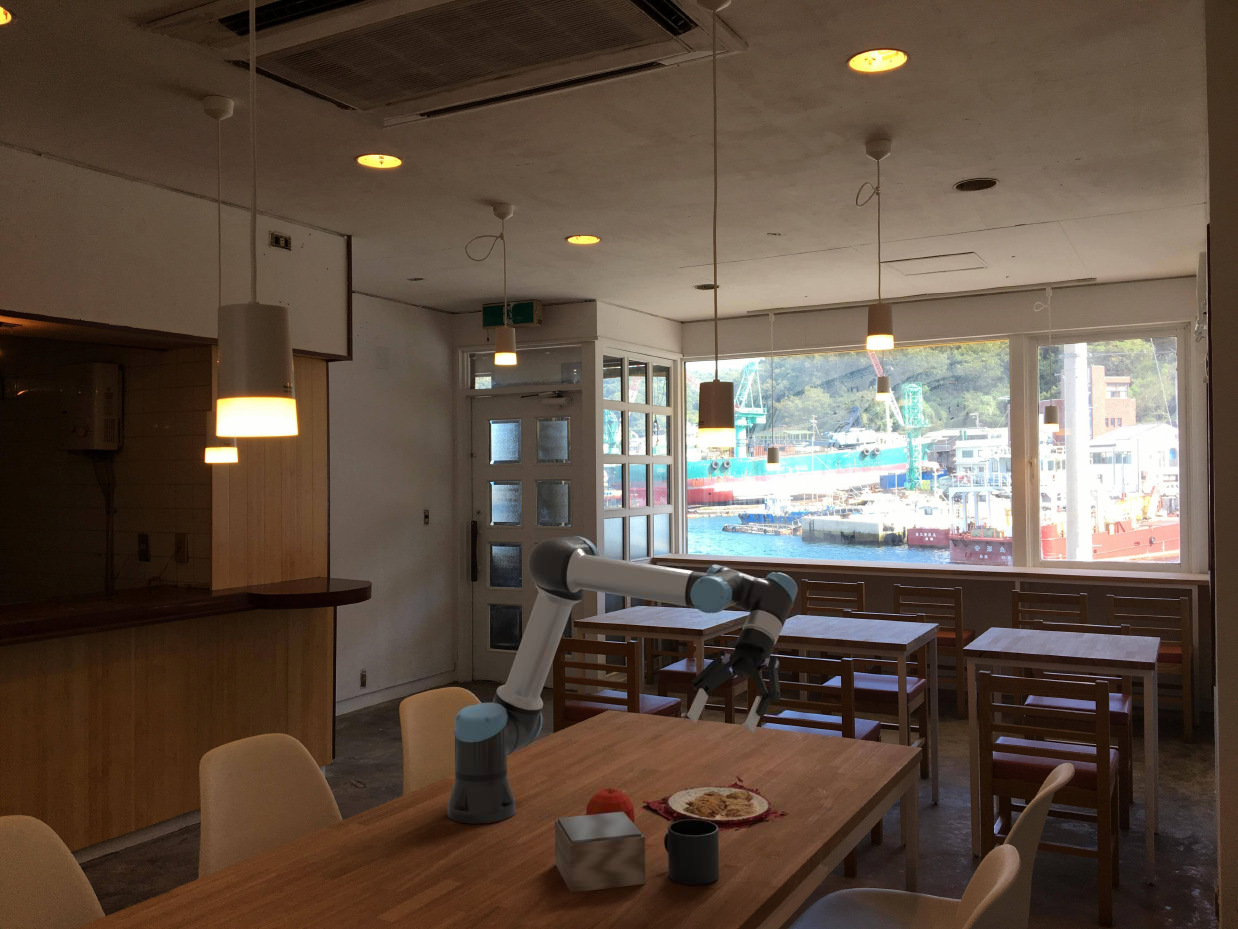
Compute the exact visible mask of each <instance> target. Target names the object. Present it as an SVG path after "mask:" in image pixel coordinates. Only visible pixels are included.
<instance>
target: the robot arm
mask: <svg viewBox="0 0 1238 929" xmlns="http://www.w3.org/2000/svg"><path fill="white" fill-rule="evenodd" d="M527 558H528V559H527V570H528V573H529V576H530V578H531V580H533V582H534V584H535V587H536V590H538V594H537V597H536V599H535V602H534V605H533V606H532V607H533V608H532V610H531V614H530V616H529V619H528V621H527V624H526V627H525V629H524V632H523V635H522V638H521V640H520V644H519V647H518V650H517V652H516V655H515V657H514V660H513V664H512V666H511V669H510V672H509V675H508V678H507V681H506V682H505V684H502V685H500V686H498V687H497V689H496V692H495V695H494V698H493V699H492V702H479V703H476V704H471V705H468V706H465V707H463V708H462V709H460V710H459V711H458V712H457V713H456V715H455V719H454V728H453V733H454V768H455V769H454V773H455V774H454V776H455V777H454V783H453V786H452V790H451V792H450V796H449V799H448V802H447V817H448V818H449V819H450V820H451V821H453V822H458V823H463V824H474V825H476V824H489V823H495V822H500V821H504V820H507V819H509V818H510V817H511V818H512V816H514V815H515V814H516V799H515V797H514V794H513V790H512V787H511V784H510V781H509V778H508V756H510V755H512V754H514V753H515V752H517V751H519V750H521V749H525V748H527V746H530V745H531V743H533V741H534V740H535V739H537V737H538V736H539V735H540V732H541V731H542V729H543V728H542V727H543V720H544V719H543V714H542V709H543V706H544V702H543V700H542V698H541V693H542V691H543V688H544V685H545V683H546V680H547V676H548V675H549V672H550V669H551V666H552V663H553V661H554V659H555V655H556V653H557V649H558V647H559V644H560V642H561V639H562V637H563V633H564V630H565V628H566V625H567V623H568V620H569V617H570V614H571V611H572V610H573V606H574V605H575V604H579V603H581V601H582V600H583V599H584V598H583V597H584V595H585V592H586V591H590V592H591V591H593V592H598V593H602V594H603V593H604V594H611V595H617V596H622V597H629V598H633V599H641V600H646V601H652V602H659V603H664V604H665V603H666V604H672V605H676V606H677V605H678V606H683V607H684V606H685V607H688V608H693V609H697V610H698V611H699V612H702V613H705V614H717V613H720V612H722V611H723V610H726V609H727V608H729V607H734V608H735V607H736V608H738V609H742V610H745V611H746V612H749V613H748V616H747V618H746V620H745V622H744V624H743V626H742V630H740V633H739V635H738V637H737V640H736V642H735V645H734V651H732V652H731V653H730V654H729V653H727V652H725V650H723V649H720V650H719V652H718V653H717V655H716V656H715V658H714V659H713V660H712V661H710V663H708V664H707V666H706V667H705V668H704V669H702V671H700V672H699V673H698V674H697V675H696V676H695V677H694V678H693V679H692V680H691V681H690V685H691V686H692V688H693V689H694V690H695V692H694V694H693V696H692V699H691V701H690V702H691V706H690V708H689V711H688V712H687V713H686V714H687V717H688V719H689V720H690V721H691V723H693V724H697V722H698V720H699V718H700V716H701V713H702V711H703V709H704V707H705V705H706V703H707V700H708V699H709V695H708V693H710V692H712V691H713V690H714V689H716V688H717V687H719V686H720V685H721V684H723V683H724V682H726V681H728V680H729V679H734V678H735V677H736V676H737V677H741V678H742V677H745V678H748V679H749V678H751V677H753V678H754V681H755V683H756V684H755V685H756V686H757V689H758V691H759V694H760V696H759V695H757V696H756V697H755V699H754V702H753V704H752V707H751V709H750V711H749V713H748V716H747V718H746V720H745V722H744V726H745V727H746V728H747V729H748V732H750V733H753V734H754V733H755V730H756V728H757V725H758V723H759V721H760V718H762V717H764V716H765V715H766V712H767V710H768V707H769V705H770V704H771V703H772V702H774V703H776V704H777V703H780V702H781V698H782V697H781V690H780V679H779V670H780V667H781V663H780V661H779V660H778V658H777V657H776V656H775V655H772V654H773V652H774V648H775V645H776V643H777V641H778V639H779V637H780V634H781V633H782V630H783V628H784V625H785V623H786V621H787V619H788V617H789V614H790V611H791V610H792V608H793V607H794V602H795V600H796V597H797V594H798V591H799V588H798V585H797V583H796V581H795V580H794V579H793V578H792V577H790V576H789V575H788V574H785V573H782V572H770V573H768V574H767V575H766V576H765V578H760V577H756V576H752V575H749V574H747V573H744V572H741V571H738V570H736V569H732V568H730V567H729V566H723V565H718V564H712V565H710V566H709V568H708V569H707V570H706V572H701V571H695V570H688V569H682V568H675V567H669V566H661V565H656V564H650V563H643V562H635V561H630V560H626V559H625V560H624V559H617V558H611V557H604V556H600V553H599V551H598V549H597V547H596V546H595V544H594V543H593V542H592V541H590V540H589V539H588V538H585V537H582V536H580V535H579V536H577V535H566V536H563V537H551V538H545V539H544V540H541V541H539V542H538V543H537V544H536V545H535V546H533V548H532V550H531V551H530V553H529V555H528V557H527ZM766 667H767V671H768V672H767V673H768V684H769V690H768V688H767V685H766V683H765V681H764V678H763V675H762V673H761V671H762V670H763V669H765V668H766ZM730 668H731V669H732V670H730Z"/></svg>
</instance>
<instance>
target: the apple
mask: <svg viewBox="0 0 1238 929" xmlns="http://www.w3.org/2000/svg"><path fill="white" fill-rule="evenodd" d="M615 812H624V813H625V814H626V815H627V816H628V818H629V819H630V820H631V821H632V822H633V823H635V821H636V815H635V808H634V803H633V802H632V800H631V799H630V798H629V796H628V795H627V794H625V793H624V792H623V791H622V790H620V789H616V788H610V787H609V788H603V789H600V790H599V791H597V792H596V793H594V794H593V795H592V796H591V797H590V799H589V800H588V802H587V804H586V812H585V813H586V814H585V815H595V814H605V813H615Z"/></svg>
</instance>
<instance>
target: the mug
mask: <svg viewBox="0 0 1238 929" xmlns="http://www.w3.org/2000/svg"><path fill="white" fill-rule="evenodd" d="M718 828H719V827H718V826H717V825H716V824H714V823H712V822H709V821H705V820H697V819H688V820H680V821H677V820H675V821H673V822H671V823H669V825H668V827H667V833H666V834H665V836H664V838H663V845H664V849H665V851H666V852H667V858H668V860H667V861H668V862H667V863H668V866H667V867H668V871H667V872H668V873H667V874H668V876H669V879H670V880H671V881H673V882H675V883H677V884H680V885H685V886H704V885H708V884H712V883H714V882H715V881H717V880H718V879H719V876H720V850H719V848H720V846H719V844H720V843H719V841H720V840H719V831H718Z"/></svg>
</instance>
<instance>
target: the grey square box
mask: <svg viewBox="0 0 1238 929" xmlns="http://www.w3.org/2000/svg"><path fill="white" fill-rule="evenodd" d="M634 823H635V822H634ZM634 823H633V822H632V821H631V820H630V819H629V818H628V816H627V815H626V814H625V813H624V812H615V813H605V814H595V815H586V814H585V815H578V816H577V815H576V816H566V817H558V818H557V819H555V821H554V825H555V826H554V830H555V831H554V841H555V842H554V844H555V847H554V848H555V850H554V851H555V852H554V853H555V854H554V855H555V858H554V859H555V867H556V868H557V870H558V871H559V874H560V876H561V878H562V879H563V881H564V883H565V885H566V886H567V889H568V891H569V892H570V893H579V892H588V891H596V890H597V891H598V890H604V889H615V888H621V887H627V886H628V887H630V886H638V885H639V886H640V885H646V836H644V835H645V834H643V833H642V832H641V830H639V828H638V827H637V826H636V824H634Z"/></svg>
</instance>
